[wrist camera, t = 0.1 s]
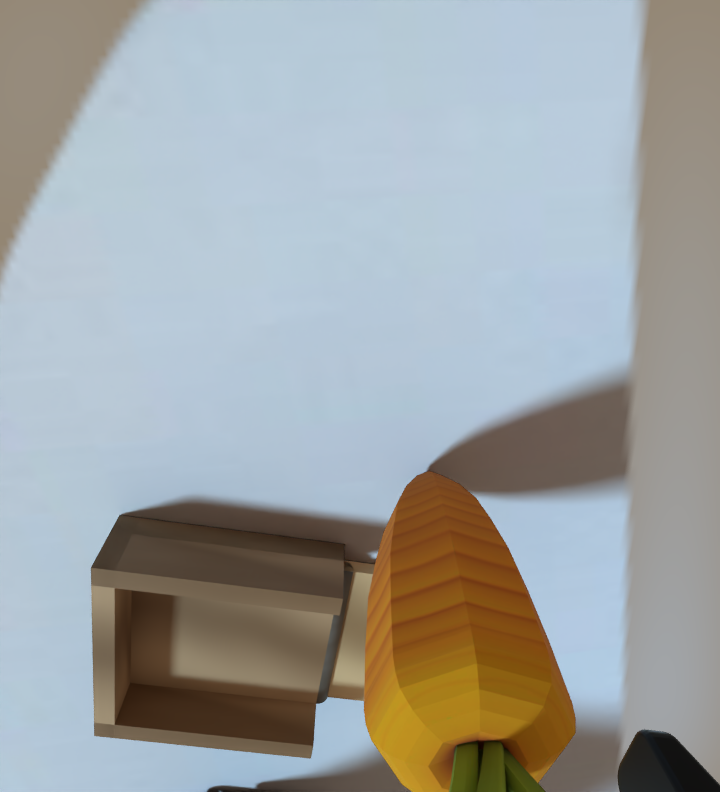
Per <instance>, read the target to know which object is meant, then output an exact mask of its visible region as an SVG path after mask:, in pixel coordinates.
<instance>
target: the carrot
mask: <svg viewBox="0 0 720 792" xmlns="http://www.w3.org/2000/svg"><path fill="white" fill-rule="evenodd" d="M364 713H365V721H366V726H367V729H368V732H369V735H370V738H371V740H372V742H373V743H374V745H375V746H376V747H377V749H378V750H379V752H380V753H381V755H382V756H383V758H384V759H385V760H386V762H387V763H388V765H389V766H390V768H391V769H392V771H393V772H394V774H395V775H396V776H397V778H398V779H399V781H400V782H401V784H402V785H404V786H405V787H406V788H408V789H409V790H411V791H412V792H545V790H544V789H543V788H542V787H541V786H540V785H539V784H538V783H539V781H540V780H541V779H542V777H543V776H544V775H545V773H546V772H547V771H548V769H549V768H550V767H551V766H552V764H553V763H554V762H555V760H556V759H557V758H558V756H559V755H560V754H561V752H562V751H563V750H564V748H565V747H566V746H567V744H568V743H569V742H570V740H571V739H572V737H573V736H574V735H575V733H576V732H575V714H574V709H573V705H572V701H571V699H570V696H569V693H568V691H567V688H566V685H565V683H564V680H563V677H562V675H561V672H560V669H559V667H558V664H557V661H556V659H555V656H554V653H553V651H552V648H551V645H550V643H549V640H548V638H547V635H546V633H545V631H544V628H543V626H542V623H541V621H540V619H539V616H538V614H537V611H536V609H535V607H534V604H533V602H532V599H531V597H530V594H529V592H528V590H527V588H526V585H525V583H524V581H523V579H522V577H521V575H520V572H519V570H518V568H517V566H516V564H515V562H514V559H513V557H512V555H511V553H510V551H509V548H508V547H507V545H506V543H505V542H504V540H503V538H502V537H501V535H500V533H499V532H498V530H497V528H496V527H495V525H494V523H493V522H492V520H491V519H490V517H489V516H488V514H487V513H486V511H485V510H484V509H483V507H482V506H481V504H480V503H479V501H478V500H477V499H476V497H474V496H473V495H472V494H471V493H470V492H468V491H467V490H466V489H465V488H464V487H462V486H461V485H460V484H458V483H456V482H454V481H452V480H450V479H448V478H446V477H444V476H442V475H440V474H437V473H434V472H431V471H428V472H425V473H422V474H420V475H417V476H416V477H415V478H414V479H413V480H412V481H411V482H410V483H409V484H408V485H407V486H406V488H405V489H404V491H403V493H402V495H401V497H400V499H399V501H398V503H397V505H396V507H395V509H394V511H393V513H392V515H391V518H390V520H389V522H388V524H387V526H386V528H385V530H384V532H383V536H382V540H381V543H380V547H379V551H378V555H377V558H376V562H375V567H374V572H373V576H372V581H371V586H370V591H369V596H368V609H367V626H366V644H365V686H364Z"/></svg>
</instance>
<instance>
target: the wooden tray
mask: <svg viewBox="0 0 720 792" xmlns="http://www.w3.org/2000/svg"><path fill="white" fill-rule="evenodd" d="M344 545H345V544H338V543H330V542H322V541H314V540H307V539H299V538H291V537H284V536H276V535H268V534H260V533H253V532H245V531H237V530H230V529H222V528H214V527H206V526H199V525H191V524H183V523H176V522H168V521H160V520H153V519H145V518H137V517H129V516H122V515H119V517H118V519H117V521H116V523H115V525H114V526H113V528H112V530H111V532H110V534H109V536H108V537H107V539H106V541H105V543H104V545H103V547H102V549H101V550H100V552H99V554H98V556H97V558H96V560H95V561H94V563H93V565H92V567H91V591H92V640H93V689H94V736H100V737H110V738H119V739H129V740H139V741H148V742H158V743H167V744H177V745H187V746H196V747H206V748H215V749H225V750H235V751H244V752H254V753H263V754H273V755H283V756H292V757H302V758H311V754H312V749H313V741H314V726H315V711H316V704H318V703H322V702H324V701H325V700H326V699H327V697H333V698H342V699H351V700H360V701H364V686H365V644H366V626H367V609H368V596H369V591H370V586H371V581H372V576H373V572H374V567H375V564H368V563H361V562H353V561H345V560H344Z"/></svg>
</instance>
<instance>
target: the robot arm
mask: <svg viewBox="0 0 720 792" xmlns="http://www.w3.org/2000/svg"><path fill="white" fill-rule="evenodd" d="M618 785H619V791H620V792H720V785H719V784H718V782H717V781H716V780H715V779H714V778H713V777H712V776H711V775H710V774H709V773H708V772H707V771H706V770H705V769H704V768H703V766H702V765H700V763H699V762H698V761H697V760H696V759H695V758H694V757H693V756H692V755H691V754H690V753H689V752H688V751H687V750H686V748H685V747H684V746H683V745H682V744H681V743H680V742H679V741H678V740H677V739H676V738H675V737H674V736H672V735H671V734H669V733H666V732H661V731H652V730H641V731H639V732H637V734H636V735H635V737H634V739H633V741H632V742H631V744H630V746H629V748H628V750H627V752H626V754H625V756H624V757H623V759H622V761H621V763H620V766H619V770H618Z"/></svg>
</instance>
